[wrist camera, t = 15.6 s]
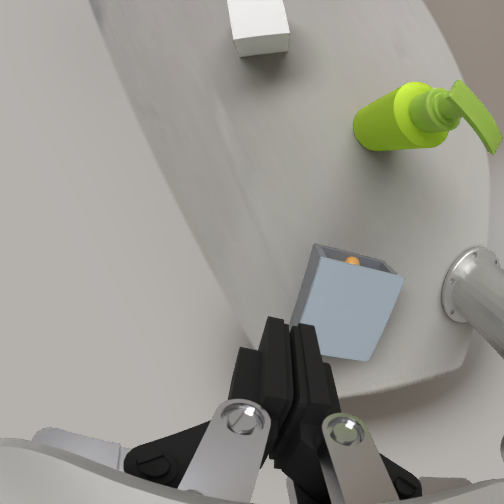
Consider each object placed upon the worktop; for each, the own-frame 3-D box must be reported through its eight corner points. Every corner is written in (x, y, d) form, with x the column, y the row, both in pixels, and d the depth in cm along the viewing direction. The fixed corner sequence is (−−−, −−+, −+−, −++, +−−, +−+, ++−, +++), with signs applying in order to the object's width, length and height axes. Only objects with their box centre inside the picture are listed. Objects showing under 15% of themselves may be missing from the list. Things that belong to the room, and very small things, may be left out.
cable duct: (383, 260, 37) (397, 274, 32) (354, 336, 40) (362, 356, 35) (314, 243, 37) (320, 255, 32) (289, 324, 40) (291, 344, 35)
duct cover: (402, 276, 32) (404, 278, 31) (366, 357, 35) (368, 361, 34) (320, 256, 32) (321, 258, 31) (291, 345, 35) (291, 349, 34)
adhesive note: (279, 15, 28) (280, -8, 23) (287, 51, 30) (290, 32, 24) (233, 20, 29) (226, -1, 23) (239, 57, 31) (233, 39, 25)
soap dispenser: (385, 166, 33) (486, 176, 14) (343, 129, 32) (419, 97, 13) (409, 133, 32) (515, 120, 12) (369, 97, 31) (455, 45, 12)
